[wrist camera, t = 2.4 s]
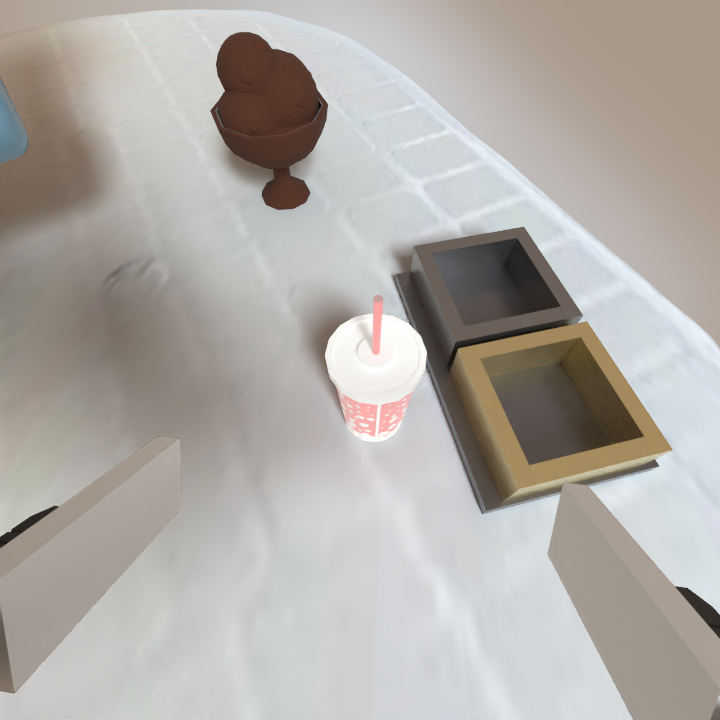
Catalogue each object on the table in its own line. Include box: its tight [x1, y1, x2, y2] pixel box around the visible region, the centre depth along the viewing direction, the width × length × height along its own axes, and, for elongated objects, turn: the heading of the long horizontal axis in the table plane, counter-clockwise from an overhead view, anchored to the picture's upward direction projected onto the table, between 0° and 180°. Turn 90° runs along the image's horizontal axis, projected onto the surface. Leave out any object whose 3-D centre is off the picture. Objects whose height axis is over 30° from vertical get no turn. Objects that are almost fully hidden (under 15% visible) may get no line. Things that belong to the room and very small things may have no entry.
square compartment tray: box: [395, 227, 672, 514], centre depth 32 cm, size 22×13×4 cm, turn 13°
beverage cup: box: [325, 295, 427, 442], centre depth 26 cm, size 6×6×14 cm
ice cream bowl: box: [211, 32, 328, 210], centre depth 40 cm, size 11×11×15 cm
